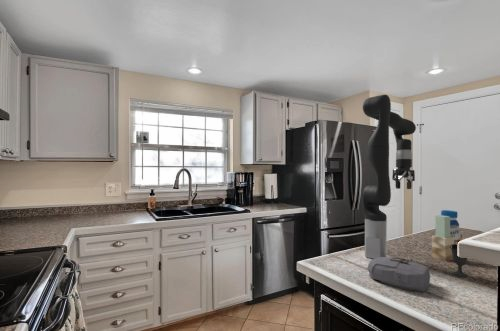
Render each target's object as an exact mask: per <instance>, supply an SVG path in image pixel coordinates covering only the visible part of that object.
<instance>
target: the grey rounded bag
mask: <svg viewBox="0 0 500 331" xmlns="http://www.w3.org/2000/svg"><path fill="white" fill-rule="evenodd" d="M367 271H368V274H369V277H370V278H372V279H373V280H376V281H379V282H381V283H382V284H385V285H389V286H392V287H395V288H399V289H404V290H409V291H416V292H423V293H424V292H426V291H427V289H428V288H429V286H430V280H431V273H430V270H429V268H428V266H426V265H423V264H420V263H417V262H414V261H412V260H411V259H410V260H409V259H405V258H399V257H392V256H386V257H379V258H376V259H373V258H372V259H371V260H370V261H369V262H368V264H367Z"/></svg>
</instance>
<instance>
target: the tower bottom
mask: <svg viewBox="0 0 500 331" xmlns="http://www.w3.org/2000/svg"><path fill="white" fill-rule="evenodd" d="M431 258H434V259H437V260H440V261H443V262H449V261H454V260H453V256H452V250H451V249H449V250H443V249H440V248H436V247H432V246H431Z"/></svg>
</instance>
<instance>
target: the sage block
mask: <svg viewBox="0 0 500 331" xmlns="http://www.w3.org/2000/svg"><path fill="white" fill-rule="evenodd" d="M434 220H435V224H434V225H435V235H436V236H437V237H442V238H449V237H450V217H449V216H442V215H441V214H440V215H435V219H434Z"/></svg>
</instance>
